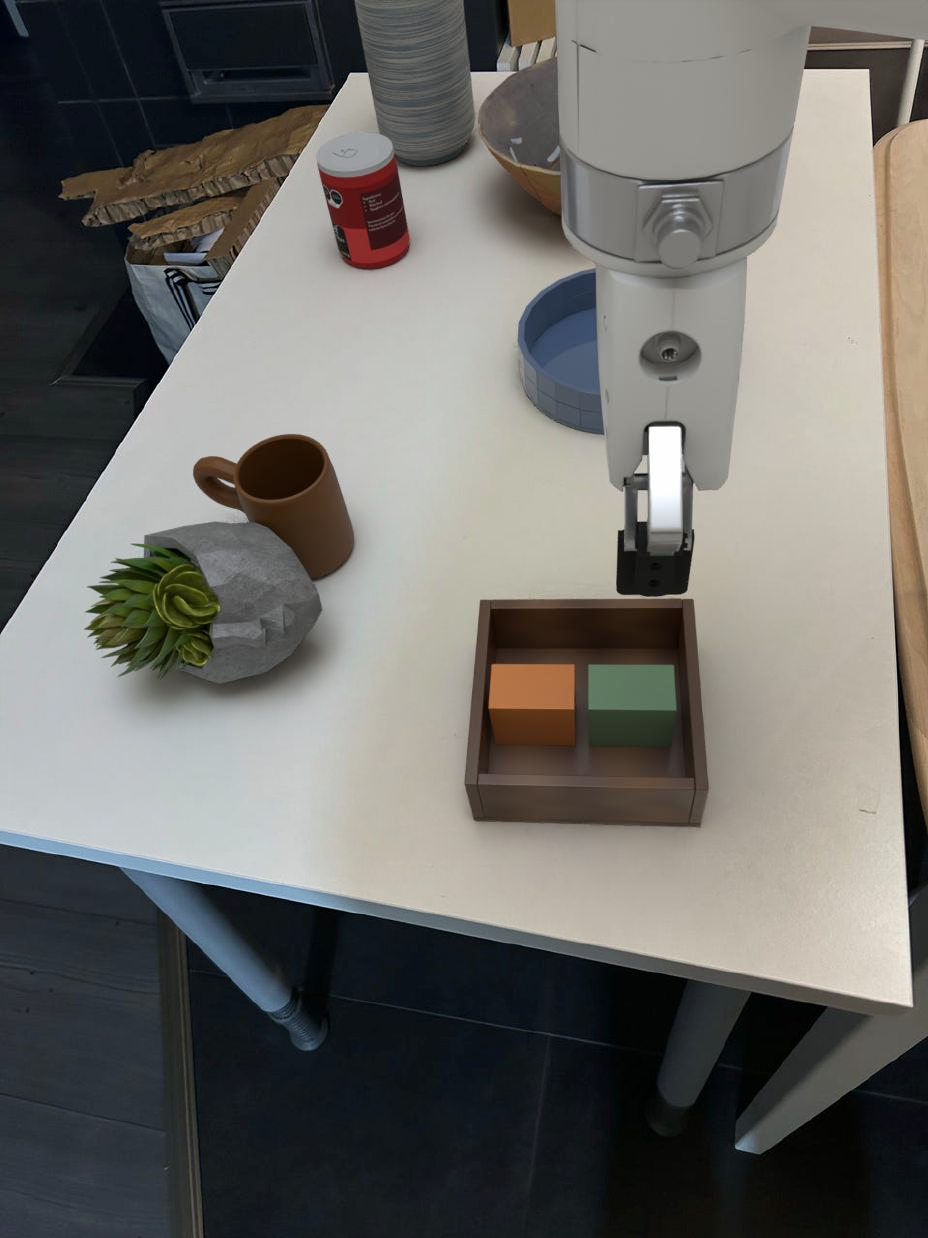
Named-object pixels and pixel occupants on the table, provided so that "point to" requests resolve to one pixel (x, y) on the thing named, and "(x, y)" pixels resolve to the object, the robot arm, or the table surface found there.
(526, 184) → the bowl
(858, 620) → the table surface
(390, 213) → the canned food
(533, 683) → the packet orange
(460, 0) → the vase
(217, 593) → the potted plant
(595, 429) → the blue round dish
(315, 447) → the mug
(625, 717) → the packet green
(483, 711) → the holder
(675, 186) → the robot arm
